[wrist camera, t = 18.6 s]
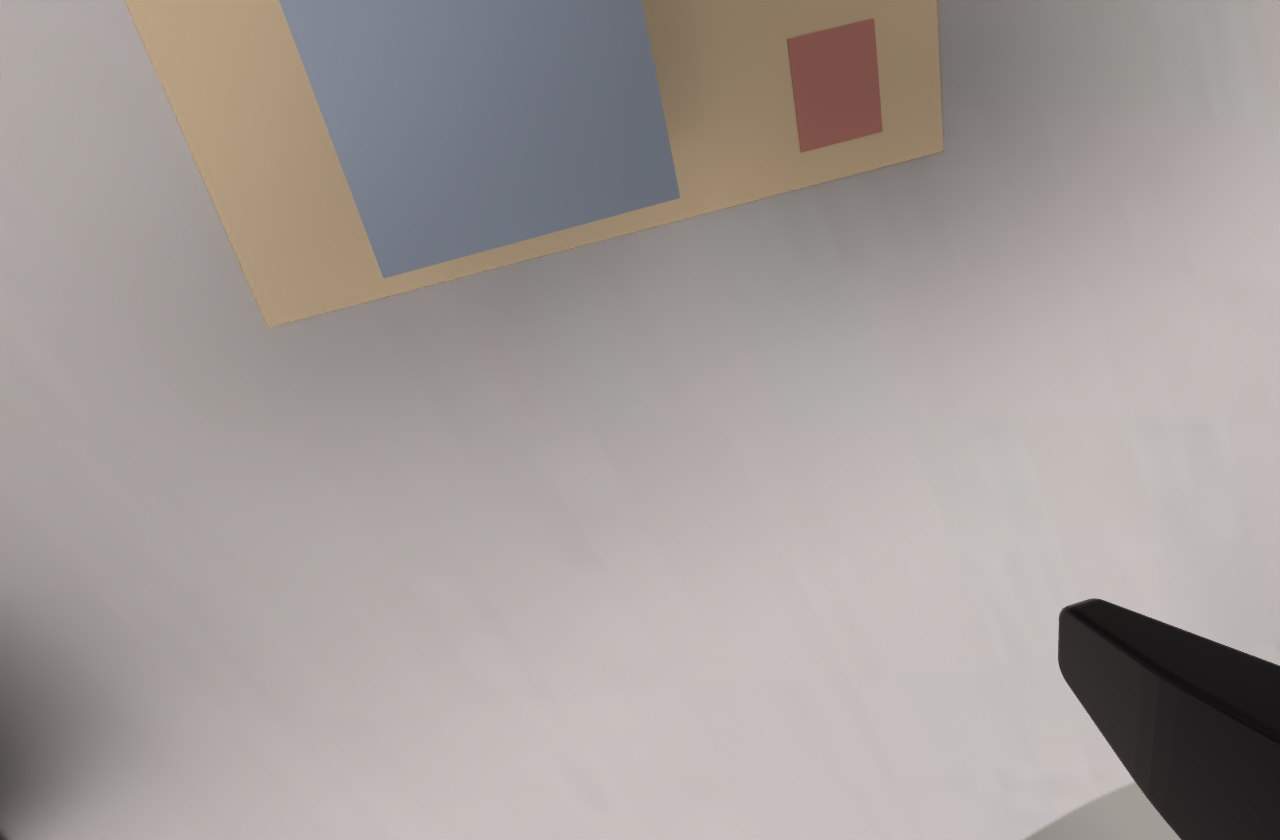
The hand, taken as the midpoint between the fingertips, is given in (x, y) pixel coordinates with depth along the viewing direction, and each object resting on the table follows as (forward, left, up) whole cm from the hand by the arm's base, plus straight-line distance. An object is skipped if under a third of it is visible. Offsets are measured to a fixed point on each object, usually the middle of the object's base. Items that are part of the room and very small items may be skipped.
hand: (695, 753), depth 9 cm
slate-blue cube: (0, +7, -12) cm, 14 cm away
